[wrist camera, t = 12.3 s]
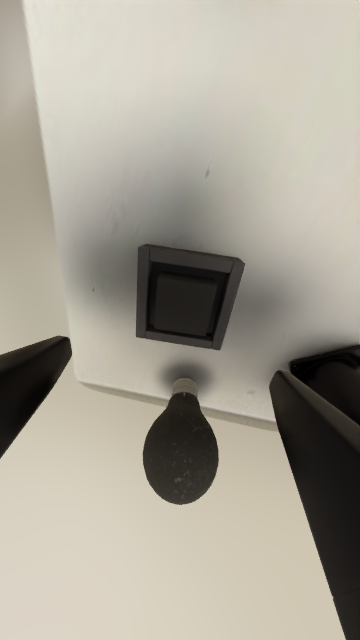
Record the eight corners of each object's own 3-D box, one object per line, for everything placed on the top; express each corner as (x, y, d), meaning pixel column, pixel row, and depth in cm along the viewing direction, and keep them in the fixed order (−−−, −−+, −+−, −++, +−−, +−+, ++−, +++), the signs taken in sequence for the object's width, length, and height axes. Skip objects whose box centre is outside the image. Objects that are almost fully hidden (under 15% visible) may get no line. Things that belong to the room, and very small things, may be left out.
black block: (204, 324, 16) (205, 336, 14) (158, 317, 16) (153, 328, 14) (214, 278, 14) (217, 286, 12) (162, 270, 14) (157, 277, 12)
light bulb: (156, 361, 19) (121, 476, 10) (210, 359, 19) (222, 480, 10) (164, 398, 22) (142, 517, 13) (212, 398, 21) (224, 523, 12)
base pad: (239, 257, 14) (245, 263, 12) (217, 336, 17) (220, 350, 15) (146, 243, 14) (137, 246, 12) (142, 324, 17) (135, 337, 16)
